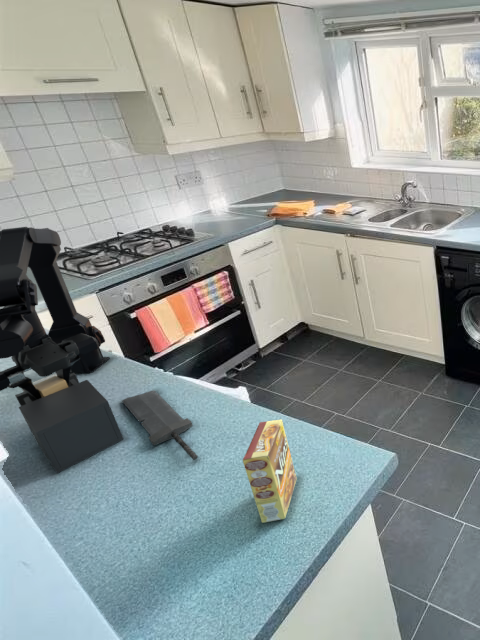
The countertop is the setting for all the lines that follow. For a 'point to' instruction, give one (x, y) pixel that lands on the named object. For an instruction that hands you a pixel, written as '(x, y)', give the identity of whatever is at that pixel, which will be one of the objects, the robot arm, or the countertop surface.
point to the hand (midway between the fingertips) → (53, 394)
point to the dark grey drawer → (27, 398)
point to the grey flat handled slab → (159, 419)
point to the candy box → (270, 470)
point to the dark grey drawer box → (72, 424)
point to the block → (51, 386)
